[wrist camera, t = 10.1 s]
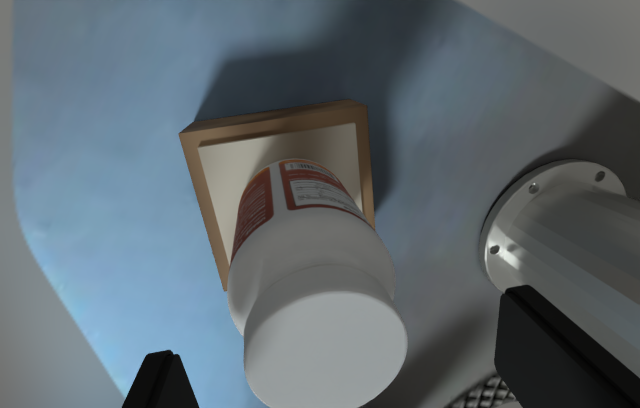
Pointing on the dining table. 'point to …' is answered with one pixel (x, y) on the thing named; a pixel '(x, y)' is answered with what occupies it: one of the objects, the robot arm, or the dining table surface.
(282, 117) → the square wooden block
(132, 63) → the dining table surface
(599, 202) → the robot arm
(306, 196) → the pill bottle
